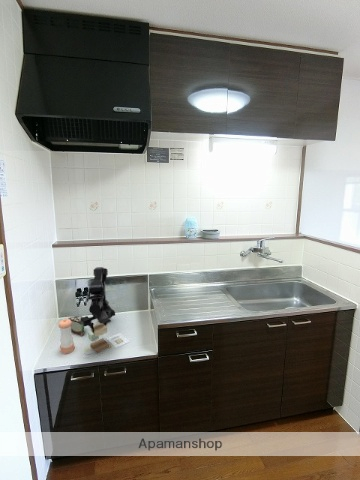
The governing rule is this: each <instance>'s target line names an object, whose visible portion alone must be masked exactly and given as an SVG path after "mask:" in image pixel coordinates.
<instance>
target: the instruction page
mask: <svg viewBox="0 0 360 480" xmlns="http://www.w3.org/2000/svg"><path fill="white" fill-rule="evenodd" d="M106 341H107V342H108V343H109V344H111V345H112V346H113V347H114V348H117V349H118V348H119V347H121V346H123V345H125V344H128V343H130V340H128V339H127V338H126V337H125V336H124V335H123V334H121V333H120V332H119V333H116V334H114V335H112V336H110V337H107V338H106Z"/></svg>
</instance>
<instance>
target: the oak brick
mask: <svg viewBox="0 0 360 480" xmlns="http://www.w3.org/2000/svg"><path fill="white" fill-rule="evenodd" d="M93 327H94V333H93V332H92V330H91V329H90V331H91V332H92V333H93V334H94V335H95V336H99V337H100V336H101V335H104V334H106V333H108V327H107V325H106V326H105V325H104V324H103V323H99V322H98V323H96V324H95V323H94V325H93Z"/></svg>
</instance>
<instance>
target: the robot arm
mask: <svg viewBox="0 0 360 480" xmlns="http://www.w3.org/2000/svg"><path fill="white" fill-rule="evenodd" d="M108 273H109V271H108V269H107V268H105V267H104V266H103V267H102V266H100V267H99V266H98V267H95V268H94V269H93V276H94V277H93V281H92V282H90V285H89V286H88V301H89V300H90V301H91V302H90V305H89V308H88V310H89V313H90V314H91V315H92V316H91V317H89V316H88V315H86V316H82V317H83V318H81V319H80V323H81V324H82V325H83V326H84V327H87V326H88V327H89V328H90V331H91V330H92V332H93V333H94V327H93V325H95V323H94V322H93V321H95V320H97V321H98V323H103V324H104V325H105V326H107V324H108V323H110V322H111V321H112V320H111V319H112V317H114V316H116V311H115V310H114V309H113V308H112V307H111V306H110V303H109V301H108V300H107V295H106V281H107V277H108Z"/></svg>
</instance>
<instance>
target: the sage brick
mask: <svg viewBox="0 0 360 480" xmlns="http://www.w3.org/2000/svg"><path fill="white" fill-rule="evenodd" d="M87 333H88V339H89V341H92V342H94V341H97V339H98V340H99V339H100V338H99V337H100V335H99V336H95V335H94V334H93V333H92V332H91V330H90V331H88V332H87Z"/></svg>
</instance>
